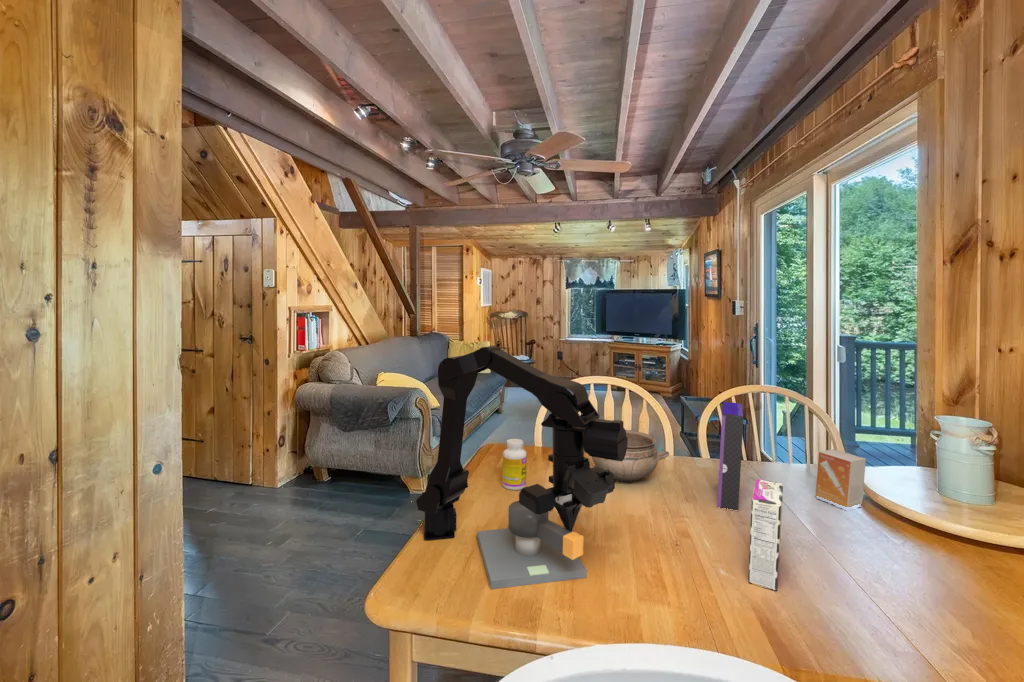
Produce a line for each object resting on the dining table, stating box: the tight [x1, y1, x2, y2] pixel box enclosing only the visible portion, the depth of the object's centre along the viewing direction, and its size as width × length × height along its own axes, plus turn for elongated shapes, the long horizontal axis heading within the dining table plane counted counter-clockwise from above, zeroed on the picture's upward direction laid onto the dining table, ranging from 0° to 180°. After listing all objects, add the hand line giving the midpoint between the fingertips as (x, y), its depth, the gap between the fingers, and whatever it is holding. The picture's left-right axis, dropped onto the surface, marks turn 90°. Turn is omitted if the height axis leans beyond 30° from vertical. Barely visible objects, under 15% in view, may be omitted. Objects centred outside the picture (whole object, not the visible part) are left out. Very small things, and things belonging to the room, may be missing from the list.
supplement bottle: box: [502, 438, 528, 491], centre depth 126 cm, size 7×7×13 cm
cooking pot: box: [591, 429, 670, 484], centre depth 133 cm, size 25×19×12 cm
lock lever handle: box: [507, 500, 584, 560], centre depth 87 cm, size 17×8×4 cm, turn 40°
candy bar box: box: [747, 478, 784, 591], centre depth 86 cm, size 11×5×16 cm, turn 148°
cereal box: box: [716, 401, 744, 511], centre depth 120 cm, size 17×5×24 cm, turn 154°
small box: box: [815, 449, 867, 507], centre depth 117 cm, size 8×6×13 cm
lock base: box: [476, 527, 588, 590], centre depth 91 cm, size 18×18×6 cm
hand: (568, 532), depth 84 cm, fingers closed
